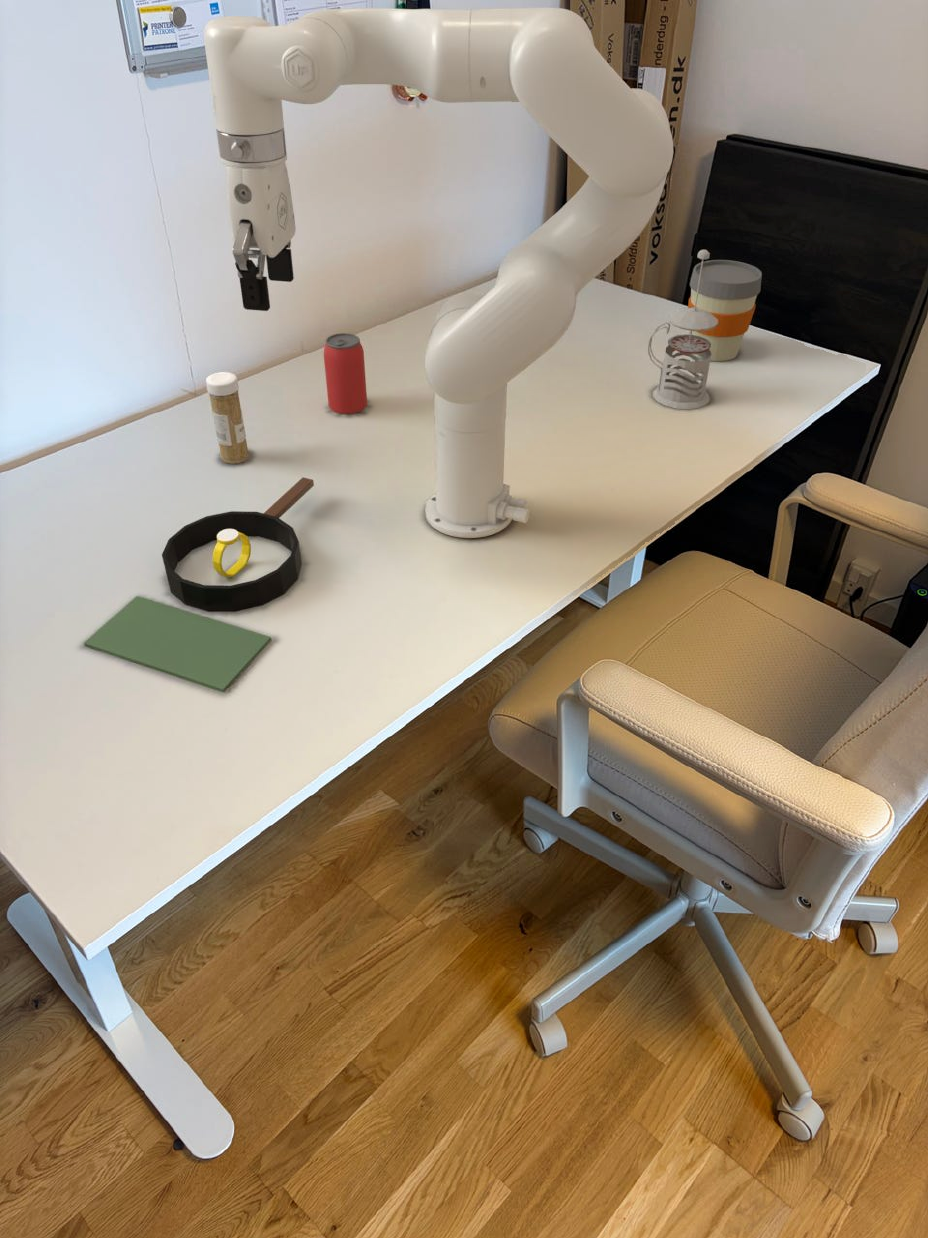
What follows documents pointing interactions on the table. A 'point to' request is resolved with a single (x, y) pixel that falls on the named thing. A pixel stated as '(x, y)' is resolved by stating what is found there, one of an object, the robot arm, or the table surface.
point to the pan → (249, 525)
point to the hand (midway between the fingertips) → (269, 294)
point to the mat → (179, 643)
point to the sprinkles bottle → (227, 417)
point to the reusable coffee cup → (725, 303)
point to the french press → (680, 385)
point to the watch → (223, 540)
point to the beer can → (345, 374)
